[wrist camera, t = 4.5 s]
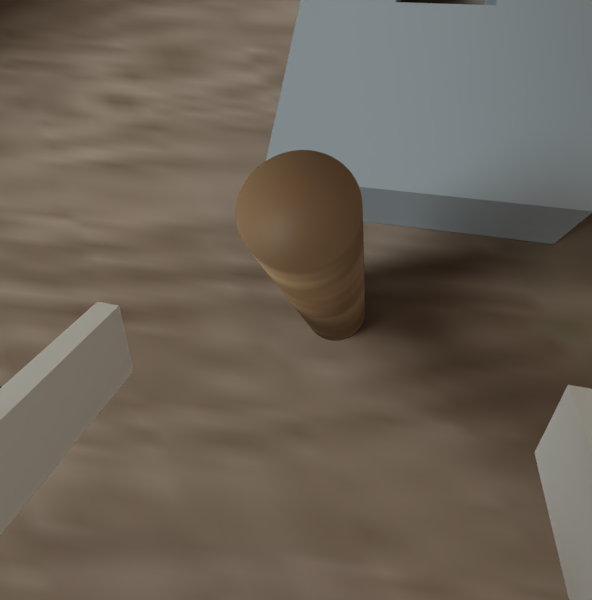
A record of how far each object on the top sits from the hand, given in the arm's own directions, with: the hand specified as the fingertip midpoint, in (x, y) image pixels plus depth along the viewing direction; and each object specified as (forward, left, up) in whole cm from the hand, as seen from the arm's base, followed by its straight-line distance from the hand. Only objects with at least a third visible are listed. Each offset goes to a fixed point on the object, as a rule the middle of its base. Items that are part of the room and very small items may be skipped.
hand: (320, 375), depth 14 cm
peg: (-1, +4, -9) cm, 10 cm away
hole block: (+2, +21, -9) cm, 23 cm away
